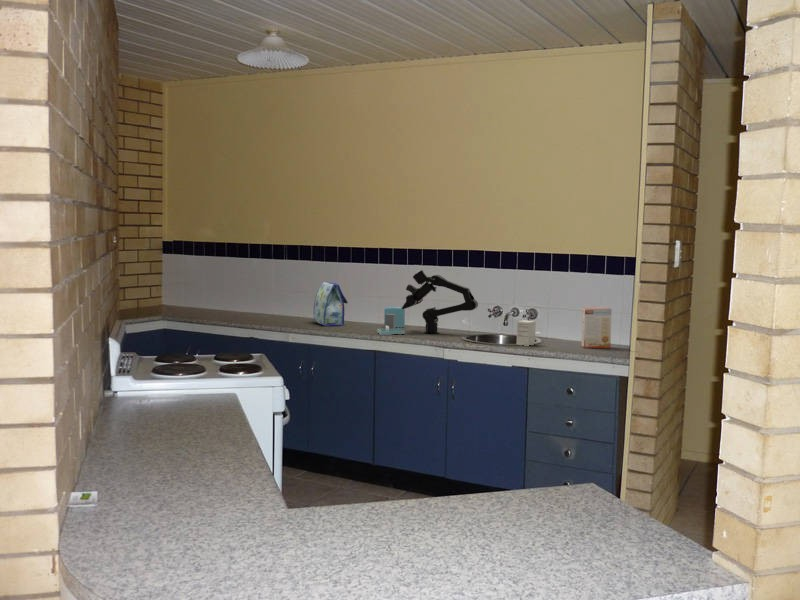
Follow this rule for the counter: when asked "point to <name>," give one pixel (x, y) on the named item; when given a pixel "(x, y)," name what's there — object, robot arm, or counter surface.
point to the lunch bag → (329, 305)
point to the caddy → (389, 331)
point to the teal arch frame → (399, 315)
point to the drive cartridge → (390, 320)
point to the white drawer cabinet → (525, 332)
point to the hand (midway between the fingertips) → (404, 308)
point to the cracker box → (596, 327)
